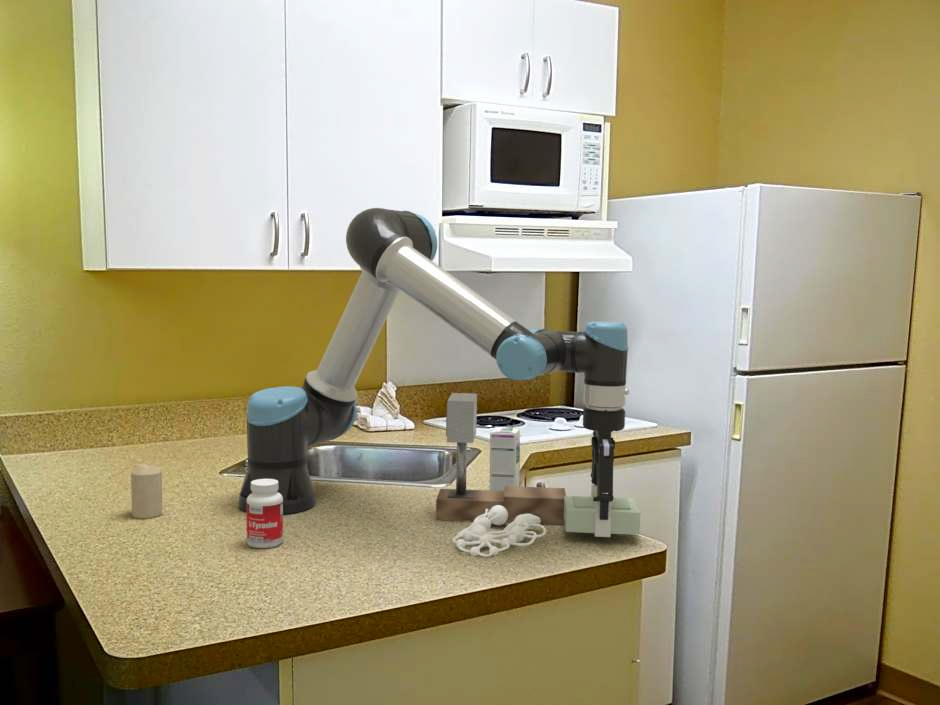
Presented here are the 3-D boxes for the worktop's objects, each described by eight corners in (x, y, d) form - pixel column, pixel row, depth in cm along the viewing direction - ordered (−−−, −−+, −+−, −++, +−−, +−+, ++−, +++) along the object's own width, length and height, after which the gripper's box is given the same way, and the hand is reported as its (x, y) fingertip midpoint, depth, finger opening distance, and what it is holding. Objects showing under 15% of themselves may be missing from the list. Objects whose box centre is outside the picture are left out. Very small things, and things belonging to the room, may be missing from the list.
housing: (435, 519, 163) (436, 494, 162) (440, 507, 171) (440, 483, 170) (565, 524, 161) (566, 499, 161) (563, 512, 169) (564, 488, 168)
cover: (565, 531, 150) (566, 507, 150) (563, 516, 160) (564, 493, 159) (639, 534, 149) (640, 510, 149) (632, 519, 159) (633, 496, 158)
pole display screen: (449, 486, 171) (450, 392, 169) (475, 487, 171) (477, 393, 169) (444, 500, 161) (446, 400, 159) (472, 501, 161) (473, 401, 159)
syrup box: (515, 500, 178) (517, 432, 176) (488, 498, 179) (489, 430, 177) (519, 493, 183) (521, 427, 182) (493, 491, 184) (494, 425, 183)
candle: (168, 512, 164) (167, 462, 163) (149, 520, 159) (148, 468, 158) (145, 509, 166) (144, 459, 165) (125, 517, 161) (124, 465, 160)
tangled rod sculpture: (504, 573, 139) (506, 549, 138) (432, 549, 146) (434, 526, 146) (556, 538, 155) (558, 517, 155) (489, 519, 163) (491, 498, 162)
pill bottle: (243, 549, 144) (243, 486, 143) (249, 538, 150) (249, 477, 149) (280, 549, 144) (280, 486, 143) (285, 537, 150) (285, 477, 149)
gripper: (632, 418, 141) (627, 548, 143) (618, 398, 163) (614, 511, 165) (587, 417, 142) (583, 546, 144) (579, 397, 164) (576, 509, 166)
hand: (600, 527), depth 155 cm, fingers open, 9 cm apart
